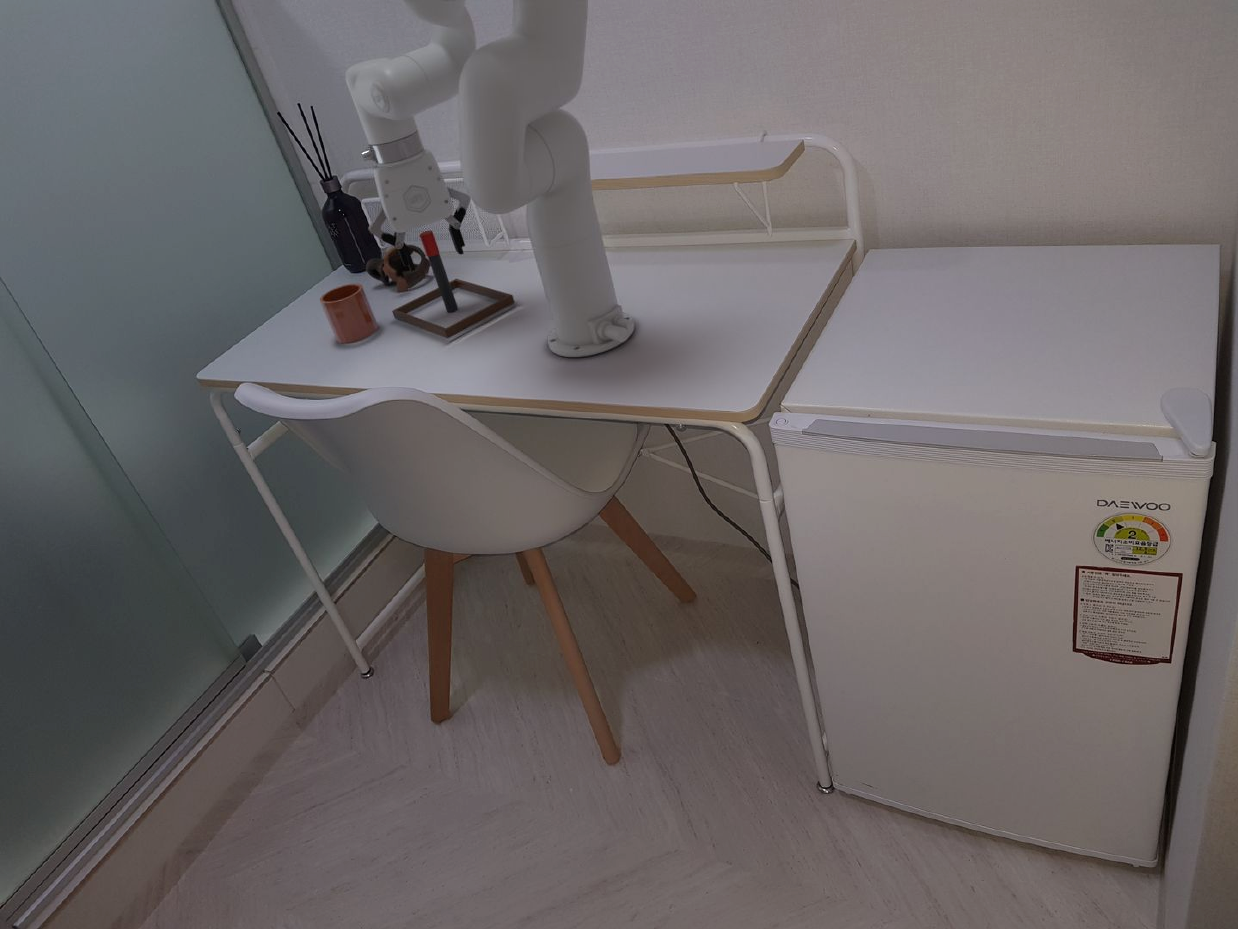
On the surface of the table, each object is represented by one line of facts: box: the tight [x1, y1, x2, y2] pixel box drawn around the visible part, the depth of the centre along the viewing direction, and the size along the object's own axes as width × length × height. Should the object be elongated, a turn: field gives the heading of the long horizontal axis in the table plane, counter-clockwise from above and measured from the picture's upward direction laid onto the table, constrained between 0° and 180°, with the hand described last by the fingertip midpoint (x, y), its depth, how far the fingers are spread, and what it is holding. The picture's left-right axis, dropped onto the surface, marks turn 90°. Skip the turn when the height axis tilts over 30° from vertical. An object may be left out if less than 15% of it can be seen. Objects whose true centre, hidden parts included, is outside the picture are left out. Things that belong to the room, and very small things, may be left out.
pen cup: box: [319, 283, 379, 344], centre depth 150 cm, size 7×7×8 cm
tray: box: [391, 278, 517, 343], centre depth 151 cm, size 17×13×2 cm
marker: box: [419, 230, 459, 314], centre depth 147 cm, size 2×2×14 cm
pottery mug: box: [365, 244, 431, 293], centre depth 166 cm, size 12×10×8 cm
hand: (436, 259), depth 146 cm, fingers open, 7 cm apart
